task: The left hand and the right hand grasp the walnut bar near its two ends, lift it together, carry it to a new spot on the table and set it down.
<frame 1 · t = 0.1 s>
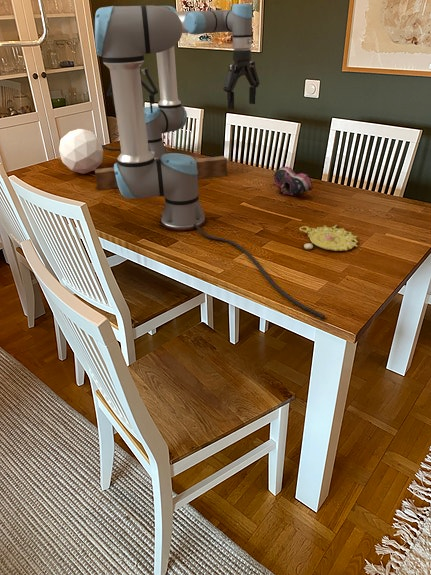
left hand: (241, 106, 187), 28 cm above the table, tool pointing down, fingers open, 13 cm apart
right hand: (135, 113, 181), 28 cm above the table, tool pointing down, fingers open, 13 cm apart
decorative object: (328, 239, 142), on the table
bar: (163, 180, 194), on the table
athletic shoe: (287, 192, 178), on the table
sphere: (85, 171, 207), on the table
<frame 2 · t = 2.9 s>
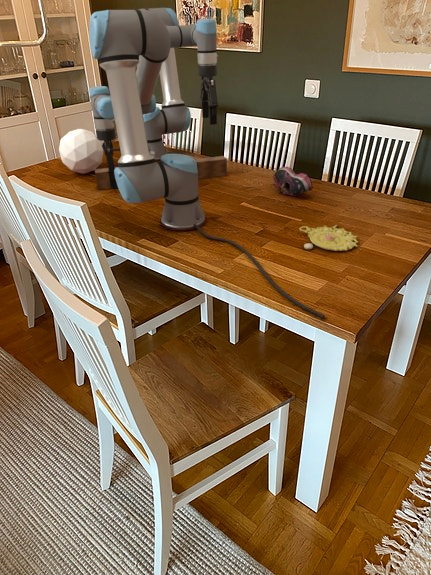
left hand: (209, 121, 186), 23 cm above the table, tool pointing down, fingers open, 13 cm apart
right hand: (113, 184, 189), 1 cm above the table, tool pointing down, fingers closed on bar, 5 cm apart
bar: (163, 180, 194), on the table, touching right hand
everything else where it was.
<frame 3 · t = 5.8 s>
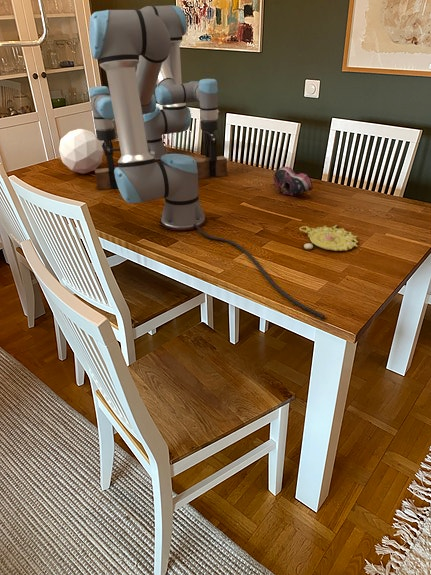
left hand: (211, 174, 198), 1 cm above the table, tool pointing down, fingers closed on bar, 5 cm apart
right hand: (113, 184, 189), 1 cm above the table, tool pointing down, fingers closed on bar, 5 cm apart
bar: (163, 180, 194), on the table, touching right hand, left hand
everything else where it was.
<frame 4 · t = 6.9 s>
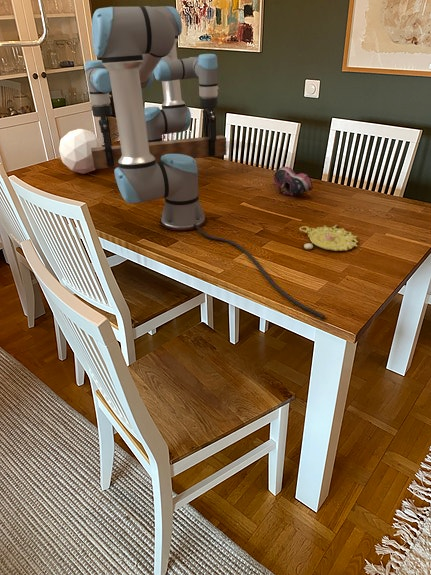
left hand: (210, 153, 194), 10 cm above the table, tool pointing down, fingers closed on bar, 5 cm apart
right hand: (110, 164, 184), 10 cm above the table, tool pointing down, fingers closed on bar, 5 cm apart
bar: (161, 160, 189), point 9 cm above the table, touching right hand, left hand
everything else where it was.
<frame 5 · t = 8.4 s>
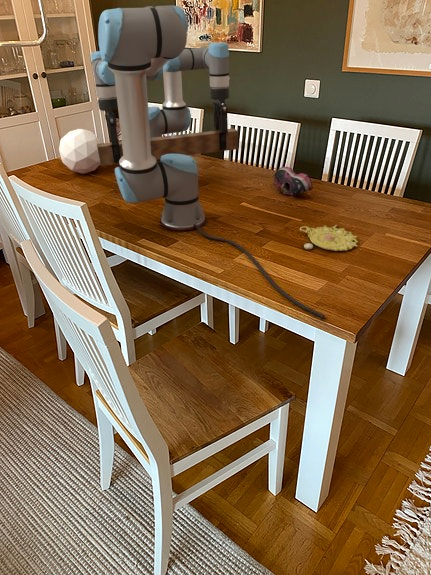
left hand: (221, 147, 185), 14 cm above the table, tool pointing down, fingers closed on bar, 5 cm apart
right hand: (117, 160, 176), 13 cm above the table, tool pointing down, fingers closed on bar, 5 cm apart
bar: (170, 155, 181), point 13 cm above the table, touching right hand, left hand
everything else where it was.
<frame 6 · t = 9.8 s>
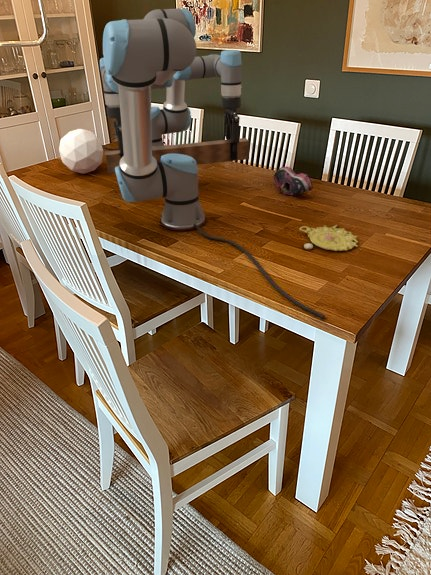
left hand: (231, 157, 180), 12 cm above the table, tool pointing down, fingers closed on bar, 5 cm apart
right hand: (125, 168, 172), 12 cm above the table, tool pointing down, fingers closed on bar, 5 cm apart
bar: (179, 164, 176), point 11 cm above the table, touching right hand, left hand
everything else where it was.
when the left hand's fingers open (2 cm above the table, at t = 11.1 s): bar drops 2 cm, on the table.
when the right hand's fingers open (2 cm above the table, at t = 11.1 s): bar drops 2 cm, on the table.
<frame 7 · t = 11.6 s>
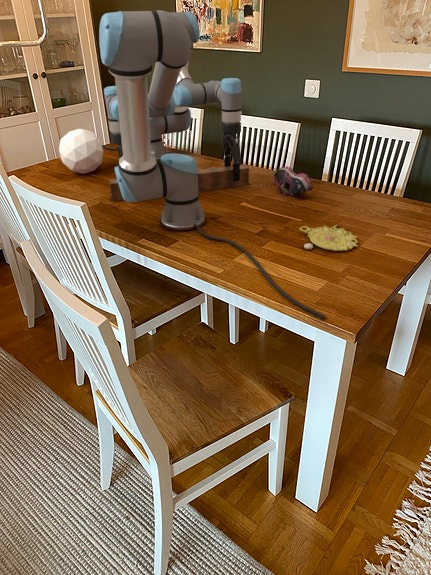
left hand: (231, 176, 185), 4 cm above the table, tool pointing down, fingers open, 12 cm apart
right hand: (128, 187, 176), 4 cm above the table, tool pointing down, fingers open, 12 cm apart
bar: (181, 191, 182), on the table
everything else where it was.
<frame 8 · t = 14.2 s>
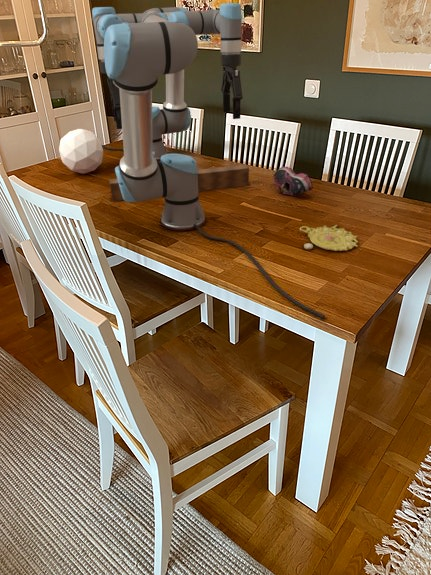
left hand: (231, 115, 172), 28 cm above the table, tool pointing down, fingers open, 13 cm apart
right hand: (119, 124, 163), 28 cm above the table, tool pointing down, fingers open, 13 cm apart
nothing on the table moved.
at the end: bar inside the target area (0.1 cm from its centre), on the table; bar tilted 0°; bar never tilted more than 2° during the clip; both hands held the bar at the same time; the left hand is holding nothing; the right hand is holding nothing; bar at rest at the end (0.0 cm/s) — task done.
